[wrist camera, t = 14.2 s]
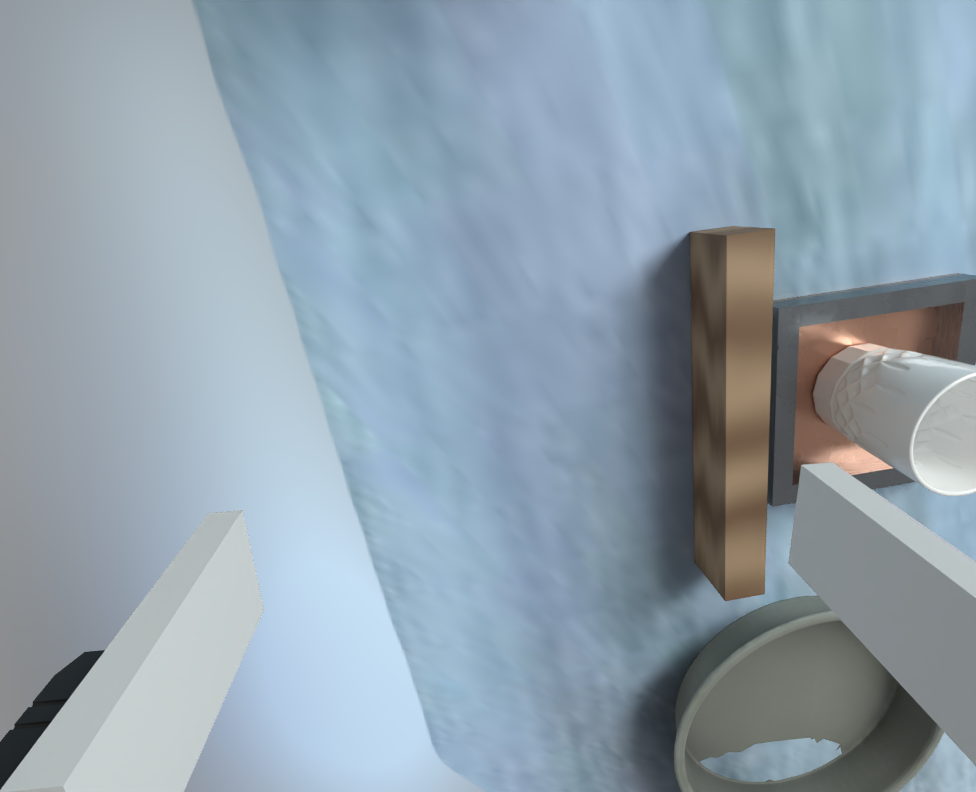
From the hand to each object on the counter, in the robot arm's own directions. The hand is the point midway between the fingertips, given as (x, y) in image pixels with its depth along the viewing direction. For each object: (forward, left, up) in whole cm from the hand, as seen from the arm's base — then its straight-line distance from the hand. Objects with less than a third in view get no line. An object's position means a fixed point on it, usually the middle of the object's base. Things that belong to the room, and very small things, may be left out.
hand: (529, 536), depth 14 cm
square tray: (+9, +29, -27) cm, 41 cm away
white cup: (+9, +29, -27) cm, 40 cm away
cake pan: (+38, +25, -28) cm, 53 cm away
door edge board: (+9, +18, -27) cm, 34 cm away
